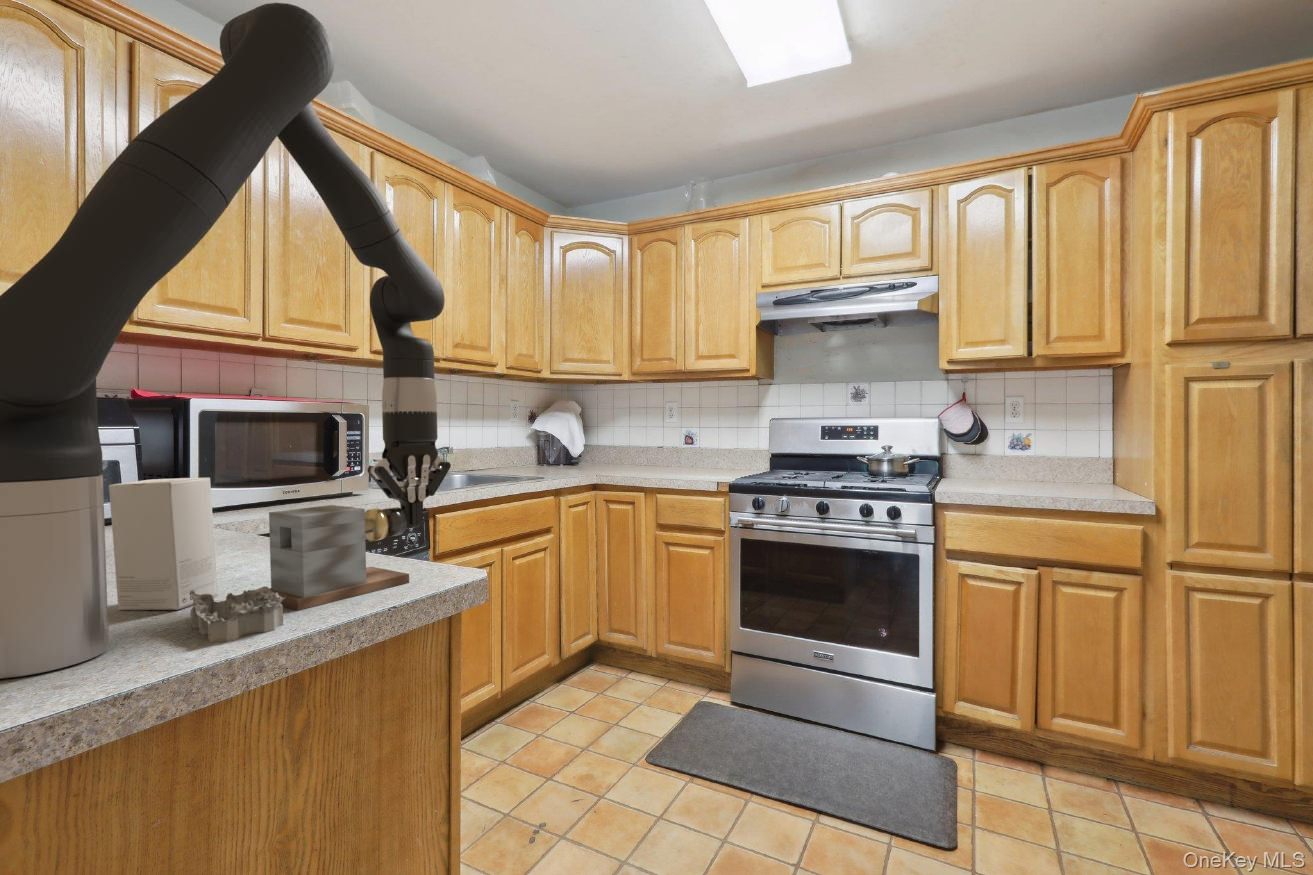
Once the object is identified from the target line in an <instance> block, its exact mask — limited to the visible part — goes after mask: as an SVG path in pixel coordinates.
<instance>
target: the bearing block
mask: <svg viewBox="0 0 1313 875" xmlns="http://www.w3.org/2000/svg"><path fill="white" fill-rule="evenodd" d="M365 512H366V510H365V508H363V507H353V506H343V505H335V504H329V505H328V504H327V505H320V506H312V507H304V508H303V507H301V508H296V509H295V508H294V509H293V508H292V509H285V510H277V511H269V512H268V524H269V528H268V529H269V531H268V532H269V560H270V561H269V562H270V588H269V587H268V588H269V589H270V590H271V591H272V592H274V593H278V595H279V596H281V597H282V598H284V597H285V599H283V600H282V602H281V603H280V604H282V606H283V607H285V608H288V609H291V610H292V609H293V610H296V611H301V610H306V609H309V608H312V607H317V606H320V605H321V606H322V605H326V604H329V603H334V602H338V601H342V600H345V599H349V598H352V597H356V596H360V595H365V594H369V593H373V592H377V591H380V590H385V589H389V588H393V587H397V586H400V585H405V584H408V583H410V574H409V573H406V572H402V571H397V570H390V569H387V568H381V567H375V566H368V567H367V556H366V553H367V552H366V548H367V547H366V537H365Z"/></svg>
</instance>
